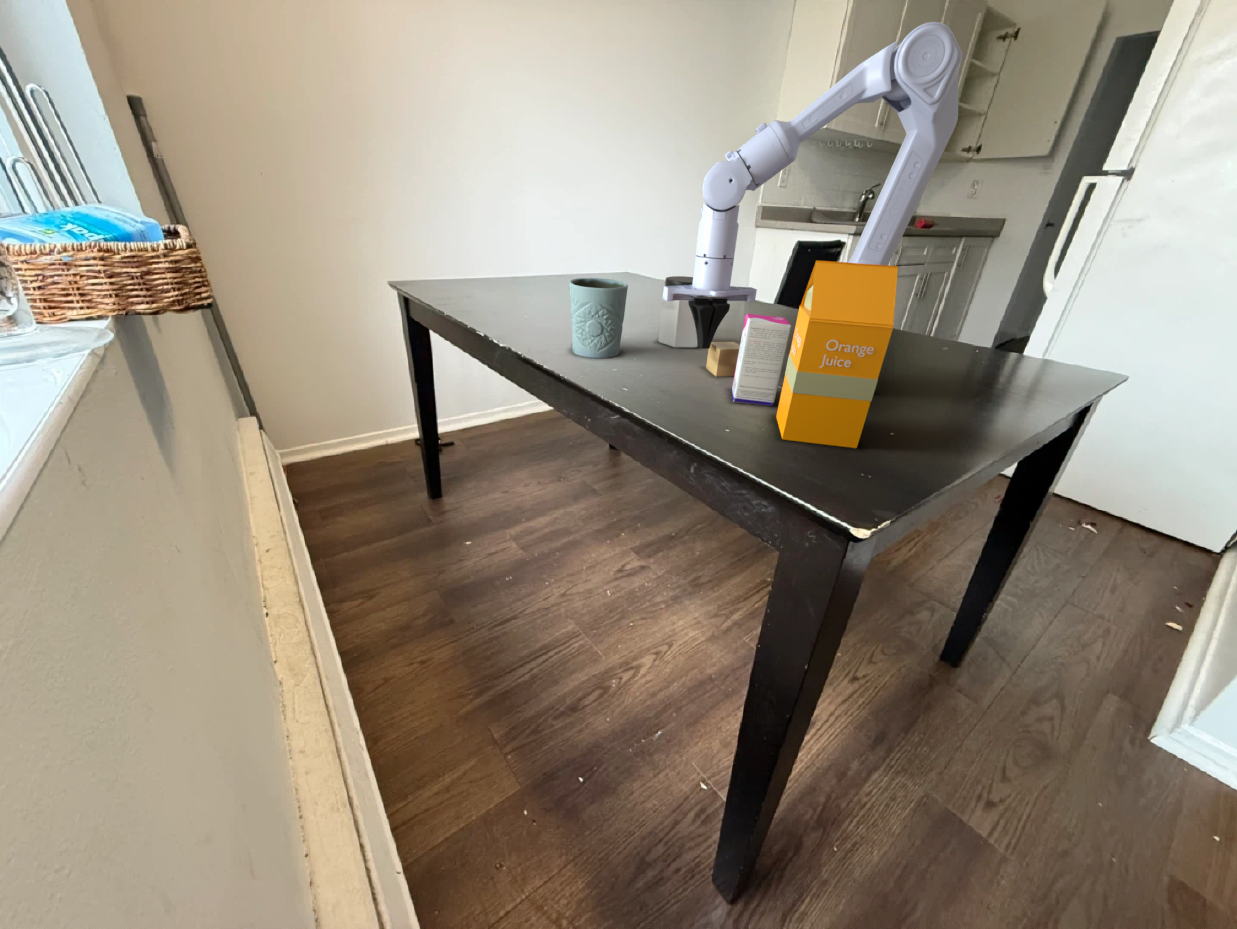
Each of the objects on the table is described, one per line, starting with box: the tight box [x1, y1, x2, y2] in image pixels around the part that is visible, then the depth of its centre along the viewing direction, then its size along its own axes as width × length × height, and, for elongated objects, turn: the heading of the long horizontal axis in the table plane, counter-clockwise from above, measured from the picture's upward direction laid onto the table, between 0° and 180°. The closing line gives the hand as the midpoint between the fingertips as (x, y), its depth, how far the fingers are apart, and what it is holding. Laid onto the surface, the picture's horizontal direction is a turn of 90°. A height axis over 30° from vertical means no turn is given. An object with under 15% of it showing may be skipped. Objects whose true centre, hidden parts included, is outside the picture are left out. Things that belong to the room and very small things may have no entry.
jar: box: [658, 275, 709, 349], centre depth 98 cm, size 9×8×12 cm
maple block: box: [705, 341, 740, 378], centre depth 84 cm, size 4×4×4 cm
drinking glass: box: [568, 277, 629, 359], centre depth 89 cm, size 10×10×12 cm
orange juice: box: [775, 259, 899, 449], centre depth 60 cm, size 8×9×20 cm
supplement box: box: [731, 313, 792, 407], centre depth 72 cm, size 6×6×12 cm
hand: (703, 347), depth 82 cm, fingers closed
